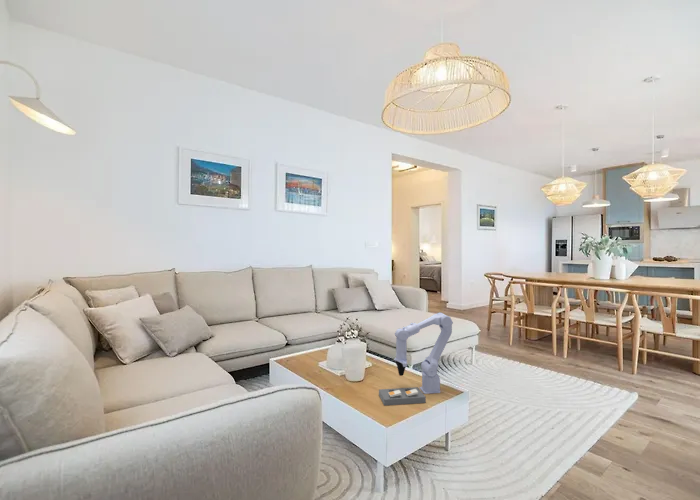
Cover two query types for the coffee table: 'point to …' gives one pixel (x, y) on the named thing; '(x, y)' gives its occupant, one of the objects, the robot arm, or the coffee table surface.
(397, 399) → the grey switch panel
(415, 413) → the coffee table surface
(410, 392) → the rocker
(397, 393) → the rocker
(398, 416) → the coffee table surface
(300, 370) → the coffee table surface
